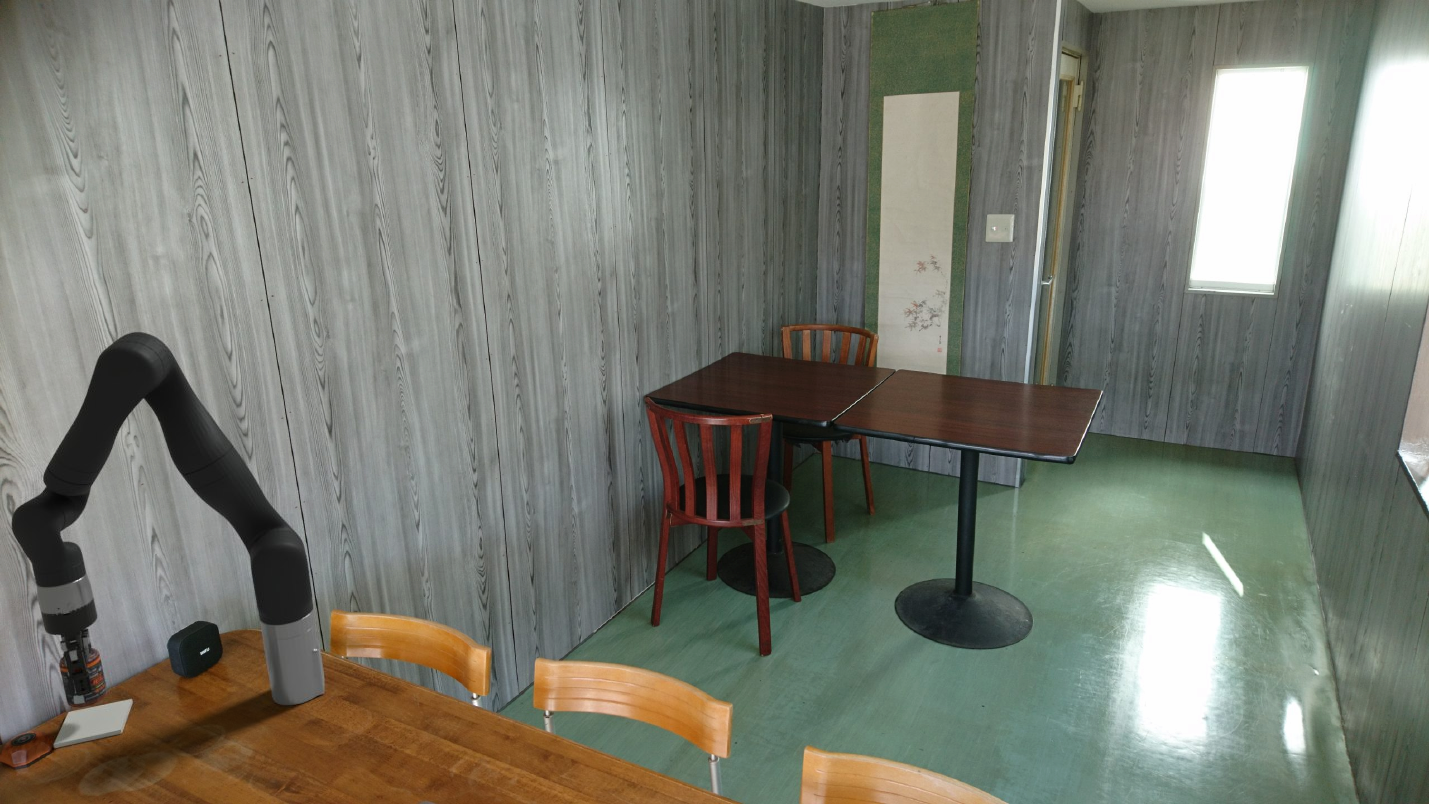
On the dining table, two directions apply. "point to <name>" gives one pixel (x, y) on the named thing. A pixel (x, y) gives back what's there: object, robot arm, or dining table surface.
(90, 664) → the supplement bottle
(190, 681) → the dining table surface
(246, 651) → the dining table surface
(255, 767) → the dining table surface
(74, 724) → the coaster
